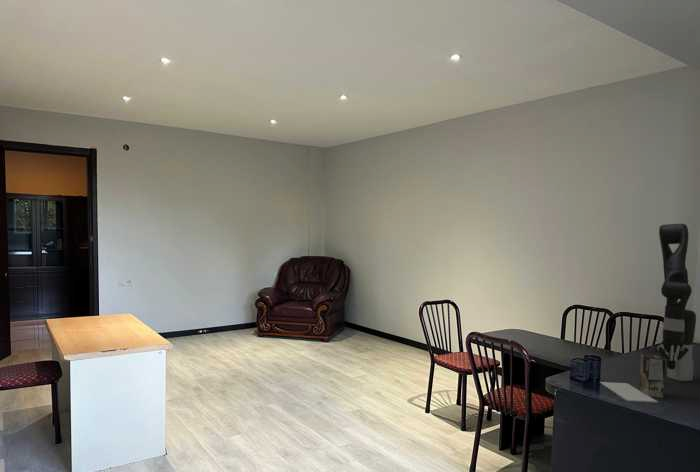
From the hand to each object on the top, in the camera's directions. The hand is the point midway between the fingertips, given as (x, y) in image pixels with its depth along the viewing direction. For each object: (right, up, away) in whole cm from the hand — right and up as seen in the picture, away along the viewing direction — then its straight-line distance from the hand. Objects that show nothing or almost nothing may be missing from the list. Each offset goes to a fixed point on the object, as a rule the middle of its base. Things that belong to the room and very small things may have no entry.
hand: (670, 368), depth 206 cm
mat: (-18, -10, 0) cm, 21 cm away
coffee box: (-8, -11, 0) cm, 14 cm away
